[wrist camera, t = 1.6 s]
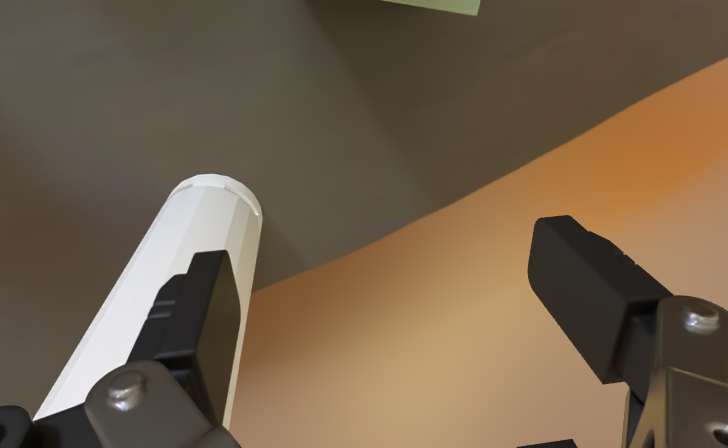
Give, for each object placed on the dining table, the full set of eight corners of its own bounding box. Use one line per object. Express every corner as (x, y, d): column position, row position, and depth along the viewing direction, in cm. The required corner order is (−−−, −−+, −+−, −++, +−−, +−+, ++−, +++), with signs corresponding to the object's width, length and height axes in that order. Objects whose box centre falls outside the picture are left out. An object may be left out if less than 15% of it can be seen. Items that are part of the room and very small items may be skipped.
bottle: (160, 171, 36) (-131, 568, 12) (262, 176, 37) (189, 543, 13) (170, 255, 40) (-35, 687, 16) (263, 257, 41) (207, 659, 17)
